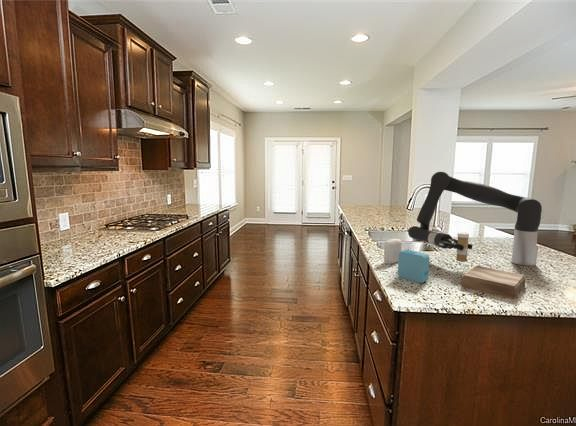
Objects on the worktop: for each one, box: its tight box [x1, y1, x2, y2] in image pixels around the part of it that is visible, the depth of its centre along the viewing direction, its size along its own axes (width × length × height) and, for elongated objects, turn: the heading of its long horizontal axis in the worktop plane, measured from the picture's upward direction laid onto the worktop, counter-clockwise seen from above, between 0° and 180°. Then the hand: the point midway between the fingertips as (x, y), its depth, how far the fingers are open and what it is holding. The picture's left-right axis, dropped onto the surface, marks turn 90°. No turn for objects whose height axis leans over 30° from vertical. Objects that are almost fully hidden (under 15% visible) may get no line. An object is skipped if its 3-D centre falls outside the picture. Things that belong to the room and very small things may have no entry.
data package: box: [397, 249, 430, 284], centre depth 135 cm, size 12×4×12 cm, turn 40°
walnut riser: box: [460, 265, 526, 301], centre depth 126 cm, size 18×18×5 cm
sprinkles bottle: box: [455, 231, 470, 263], centre depth 144 cm, size 5×5×13 cm
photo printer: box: [383, 238, 403, 265], centre depth 159 cm, size 10×4×12 cm, turn 123°
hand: (467, 247), depth 142 cm, fingers closed on sprinkles bottle, 4 cm apart
